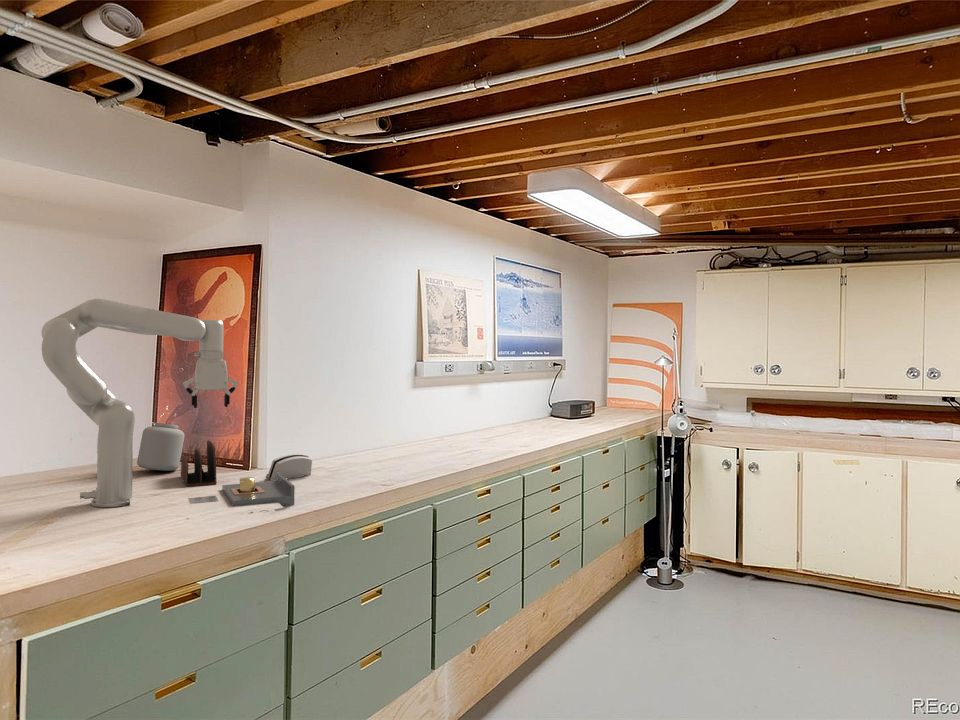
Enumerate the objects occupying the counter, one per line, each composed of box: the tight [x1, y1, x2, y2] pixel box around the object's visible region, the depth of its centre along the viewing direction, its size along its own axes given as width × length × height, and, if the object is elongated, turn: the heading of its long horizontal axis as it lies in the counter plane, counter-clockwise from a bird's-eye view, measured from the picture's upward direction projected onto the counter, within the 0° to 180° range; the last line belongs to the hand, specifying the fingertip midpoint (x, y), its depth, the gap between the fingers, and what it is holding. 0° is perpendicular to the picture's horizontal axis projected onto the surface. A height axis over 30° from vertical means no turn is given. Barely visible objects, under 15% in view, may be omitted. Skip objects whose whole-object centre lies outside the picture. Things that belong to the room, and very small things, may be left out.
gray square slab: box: [188, 495, 220, 505], centre depth 202 cm, size 8×8×2 cm
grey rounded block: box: [265, 453, 313, 481], centre depth 245 cm, size 17×5×10 cm, turn 138°
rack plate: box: [221, 472, 296, 507], centre depth 210 cm, size 18×24×6 cm
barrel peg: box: [239, 476, 256, 493], centre depth 208 cm, size 4×4×7 cm
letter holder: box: [180, 439, 218, 488], centre depth 236 cm, size 10×20×14 cm, turn 29°
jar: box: [136, 405, 185, 472], centre depth 252 cm, size 19×15×25 cm
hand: (210, 407), depth 220 cm, fingers open, 9 cm apart
